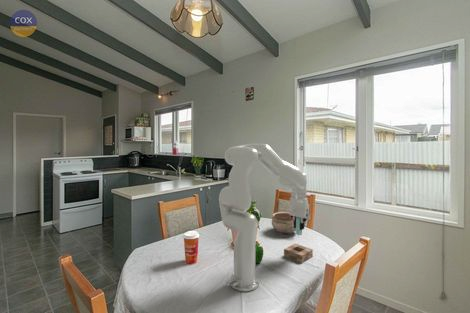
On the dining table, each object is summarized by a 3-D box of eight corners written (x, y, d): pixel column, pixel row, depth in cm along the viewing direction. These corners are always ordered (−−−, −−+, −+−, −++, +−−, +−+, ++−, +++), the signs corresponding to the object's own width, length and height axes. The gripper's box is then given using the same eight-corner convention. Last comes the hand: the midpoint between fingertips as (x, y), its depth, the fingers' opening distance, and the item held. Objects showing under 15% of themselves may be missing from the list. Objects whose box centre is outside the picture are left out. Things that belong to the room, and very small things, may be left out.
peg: (299, 235, 129) (300, 217, 128) (294, 233, 131) (294, 215, 131) (303, 234, 131) (303, 216, 131) (298, 232, 133) (298, 214, 133)
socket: (301, 263, 124) (301, 255, 124) (283, 256, 132) (284, 249, 132) (312, 256, 131) (312, 249, 131) (295, 250, 139) (295, 243, 139)
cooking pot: (263, 229, 175) (264, 212, 174) (284, 225, 183) (284, 209, 182) (285, 241, 152) (285, 222, 152) (308, 236, 161) (308, 218, 160)
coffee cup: (180, 263, 123) (180, 235, 122) (188, 256, 131) (188, 229, 130) (194, 266, 120) (194, 237, 120) (202, 259, 128) (202, 231, 127)
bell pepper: (243, 262, 125) (243, 243, 124) (253, 256, 131) (253, 238, 131) (257, 267, 119) (257, 247, 119) (266, 261, 126) (266, 242, 125)
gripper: (282, 194, 133) (282, 226, 134) (309, 198, 122) (309, 234, 122) (290, 192, 139) (290, 223, 140) (316, 196, 127) (316, 230, 128)
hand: (298, 228), depth 131 cm, fingers closed on peg, 3 cm apart
